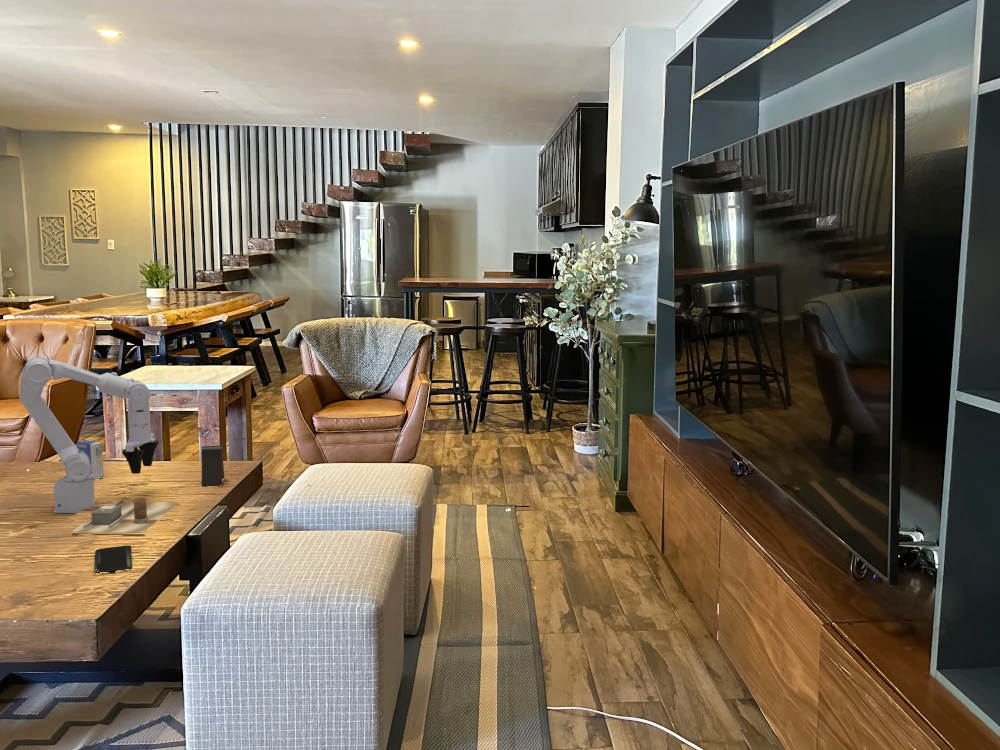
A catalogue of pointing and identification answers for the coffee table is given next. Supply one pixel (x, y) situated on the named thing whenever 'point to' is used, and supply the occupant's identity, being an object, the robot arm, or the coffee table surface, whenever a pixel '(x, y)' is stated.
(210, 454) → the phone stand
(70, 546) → the coffee table surface
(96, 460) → the walkman
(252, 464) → the coffee table surface
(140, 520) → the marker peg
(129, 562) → the phone
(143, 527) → the cream ridged tray
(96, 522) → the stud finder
